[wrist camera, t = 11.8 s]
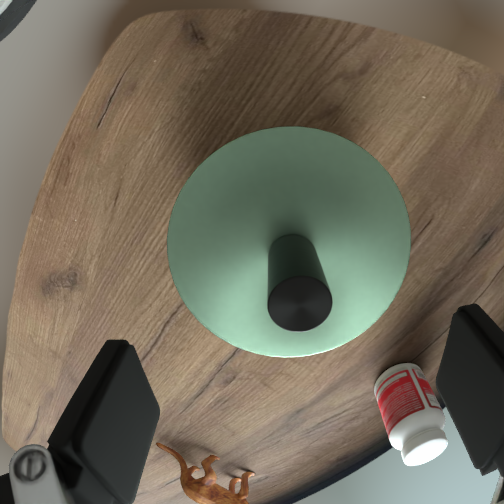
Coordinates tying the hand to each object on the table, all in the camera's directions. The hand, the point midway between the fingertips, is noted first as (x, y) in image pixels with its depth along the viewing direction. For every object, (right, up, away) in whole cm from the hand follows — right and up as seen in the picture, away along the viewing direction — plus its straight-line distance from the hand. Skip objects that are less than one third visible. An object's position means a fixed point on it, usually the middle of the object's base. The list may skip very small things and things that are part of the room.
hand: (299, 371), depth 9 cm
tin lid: (+1, +3, +9) cm, 10 cm away
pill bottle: (+16, -12, +25) cm, 31 cm away
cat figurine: (-7, -28, +32) cm, 43 cm away
